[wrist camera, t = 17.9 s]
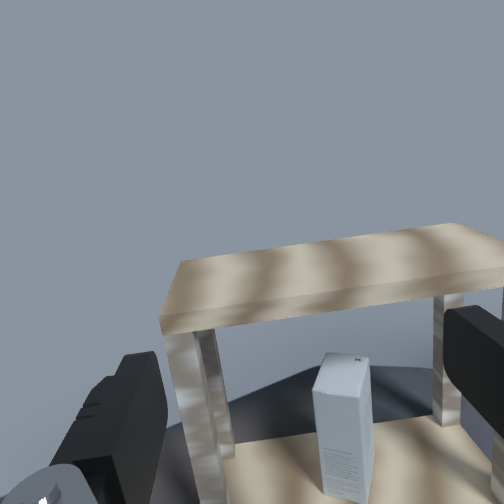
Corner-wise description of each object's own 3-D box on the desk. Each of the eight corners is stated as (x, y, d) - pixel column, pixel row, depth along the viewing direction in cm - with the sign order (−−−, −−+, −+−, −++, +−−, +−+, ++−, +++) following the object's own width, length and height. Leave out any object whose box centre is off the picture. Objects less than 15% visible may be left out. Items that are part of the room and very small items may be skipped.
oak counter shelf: (214, 567, 32) (158, 316, 25) (218, 453, 43) (181, 261, 36) (528, 518, 32) (555, 258, 25) (449, 419, 44) (454, 222, 37)
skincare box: (334, 447, 41) (325, 350, 37) (375, 456, 39) (370, 355, 36) (321, 496, 35) (310, 388, 32) (368, 509, 34) (361, 396, 30)
